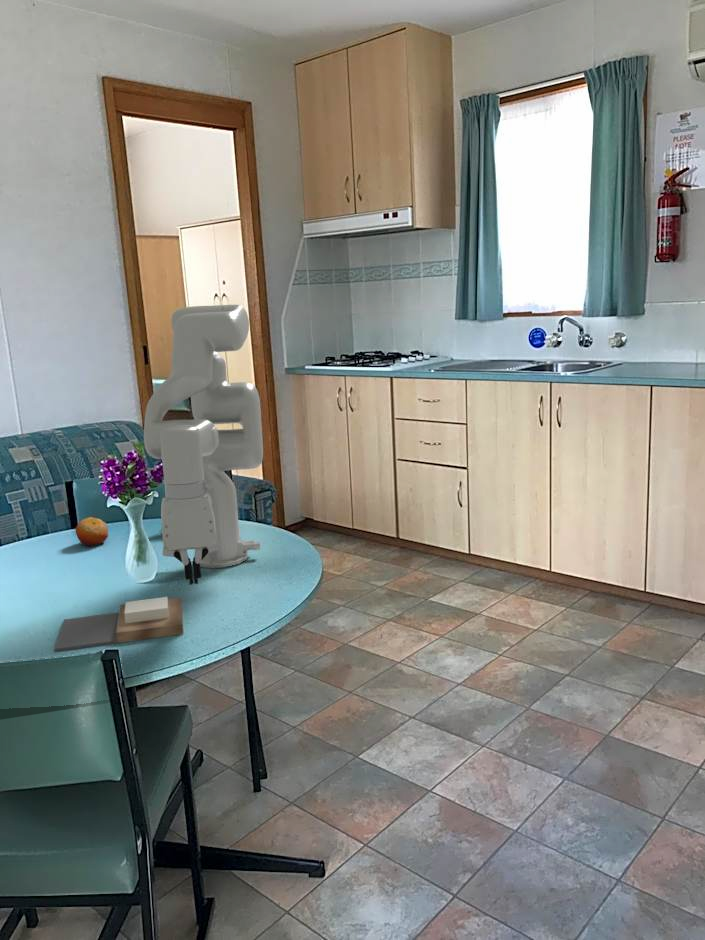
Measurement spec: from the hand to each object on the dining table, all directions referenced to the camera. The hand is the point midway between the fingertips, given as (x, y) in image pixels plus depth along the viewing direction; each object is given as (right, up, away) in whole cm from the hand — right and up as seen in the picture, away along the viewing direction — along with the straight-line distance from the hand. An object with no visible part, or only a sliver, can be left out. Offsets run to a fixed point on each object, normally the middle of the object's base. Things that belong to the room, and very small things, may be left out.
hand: (193, 581), depth 152 cm
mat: (-20, -9, -2) cm, 22 cm away
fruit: (-38, +2, +54) cm, 66 cm away
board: (-8, -8, 0) cm, 12 cm away
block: (-9, -6, 0) cm, 11 cm away
